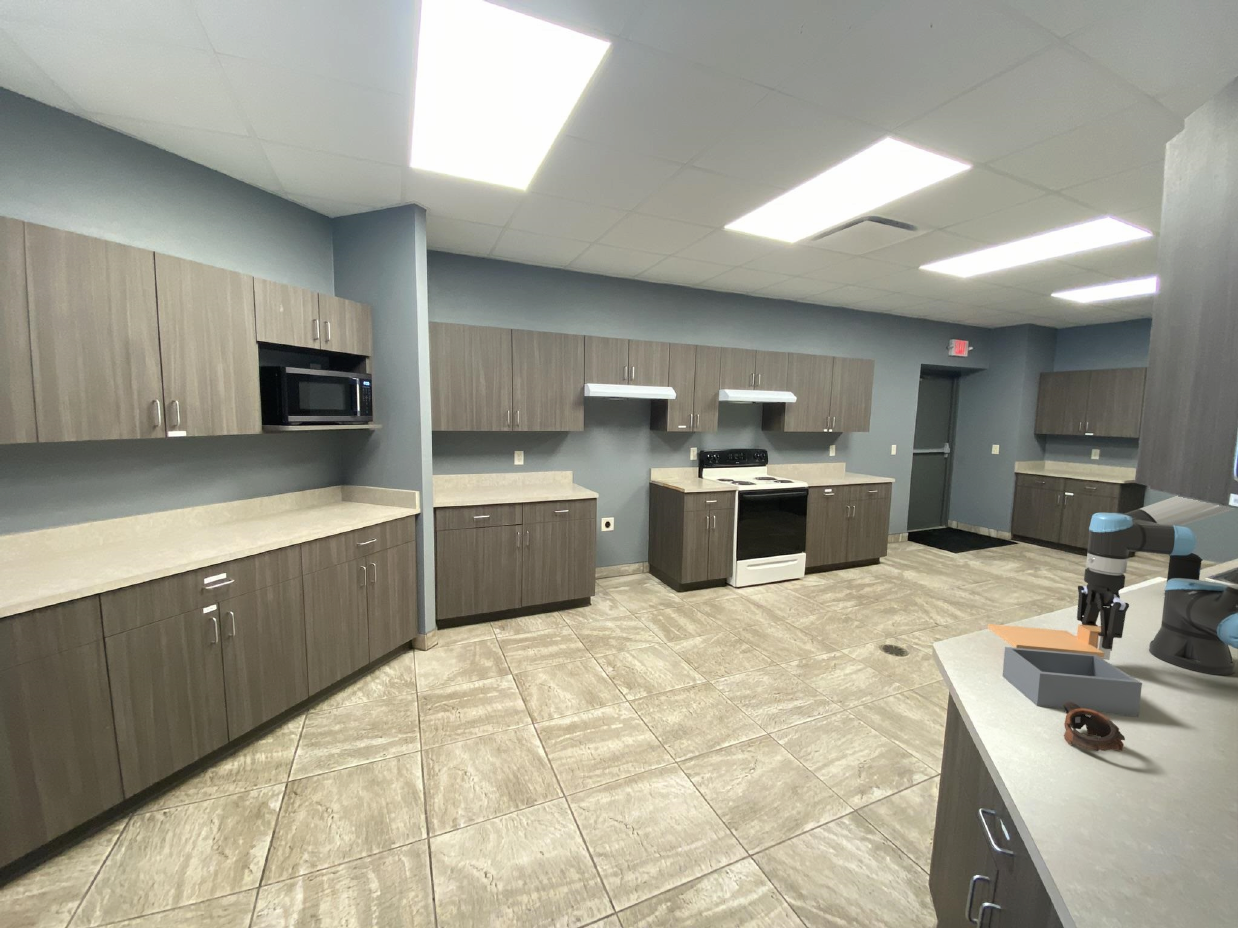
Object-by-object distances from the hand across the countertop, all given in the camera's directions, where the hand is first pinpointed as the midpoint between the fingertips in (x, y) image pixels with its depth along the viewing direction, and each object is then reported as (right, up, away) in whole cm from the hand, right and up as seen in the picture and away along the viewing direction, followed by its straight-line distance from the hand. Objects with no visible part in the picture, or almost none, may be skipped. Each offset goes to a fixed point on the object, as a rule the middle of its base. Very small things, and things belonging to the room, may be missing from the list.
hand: (1095, 654), depth 127 cm
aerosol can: (+86, 0, +52) cm, 101 cm away
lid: (-10, +2, +2) cm, 10 cm away
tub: (-21, -5, -13) cm, 25 cm away
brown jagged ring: (-32, -6, -30) cm, 44 cm away
